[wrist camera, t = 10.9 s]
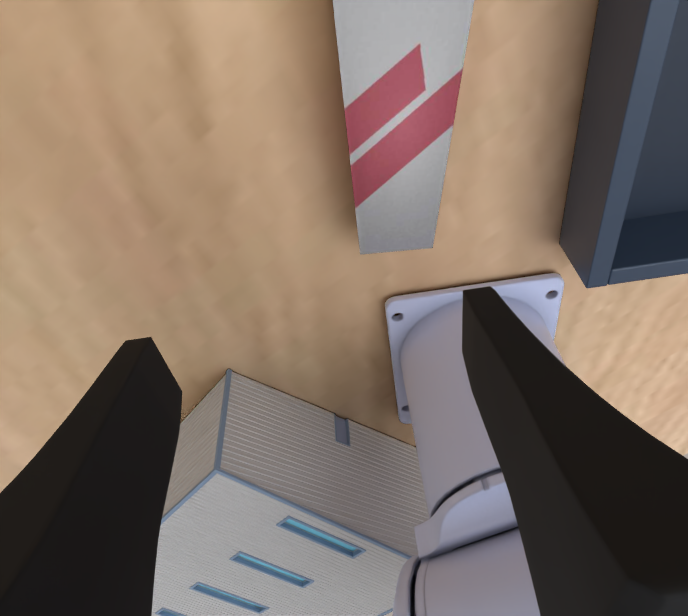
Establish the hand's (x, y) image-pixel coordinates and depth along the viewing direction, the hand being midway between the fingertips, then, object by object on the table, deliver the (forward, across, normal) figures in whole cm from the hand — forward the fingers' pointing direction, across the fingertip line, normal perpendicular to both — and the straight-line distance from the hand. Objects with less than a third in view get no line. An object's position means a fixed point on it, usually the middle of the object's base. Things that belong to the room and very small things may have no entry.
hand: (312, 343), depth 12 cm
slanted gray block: (+9, +12, +26) cm, 30 cm away
